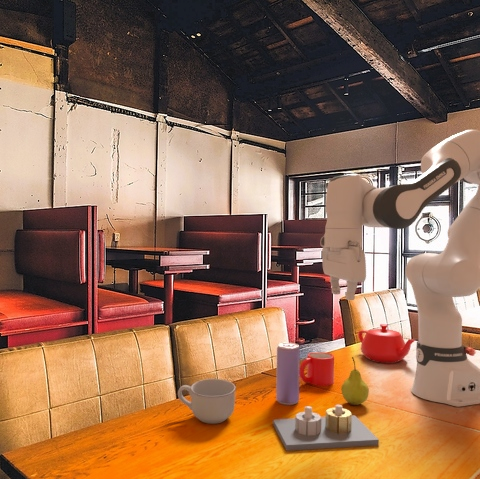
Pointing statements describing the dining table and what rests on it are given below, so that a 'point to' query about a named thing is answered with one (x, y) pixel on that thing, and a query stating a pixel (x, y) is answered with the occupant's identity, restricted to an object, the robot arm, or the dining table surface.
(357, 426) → the gear board
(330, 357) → the mug
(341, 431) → the brass gear
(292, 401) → the beverage can
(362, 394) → the fruit
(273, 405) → the dining table surface
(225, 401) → the teacup
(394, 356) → the teapot
